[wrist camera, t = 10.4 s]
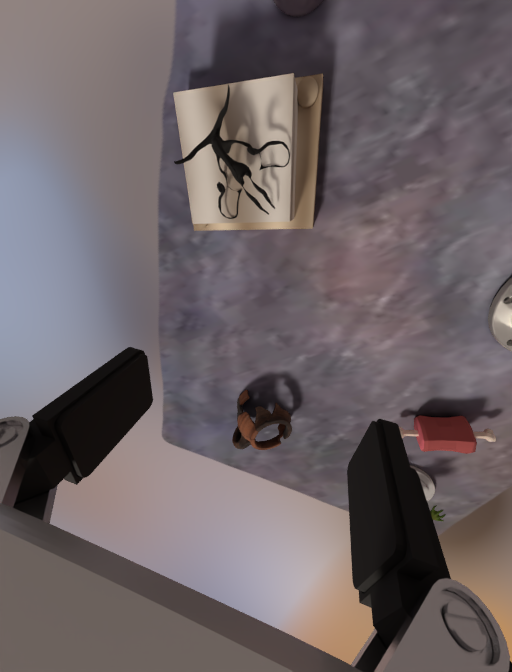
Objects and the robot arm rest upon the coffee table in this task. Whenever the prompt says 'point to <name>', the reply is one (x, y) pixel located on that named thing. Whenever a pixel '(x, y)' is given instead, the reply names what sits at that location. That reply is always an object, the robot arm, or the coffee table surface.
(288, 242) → the coffee table surface
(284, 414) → the pottery mug
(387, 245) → the coffee table surface
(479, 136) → the coffee table surface
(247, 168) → the creature
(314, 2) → the beer glass
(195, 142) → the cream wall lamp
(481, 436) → the meat
